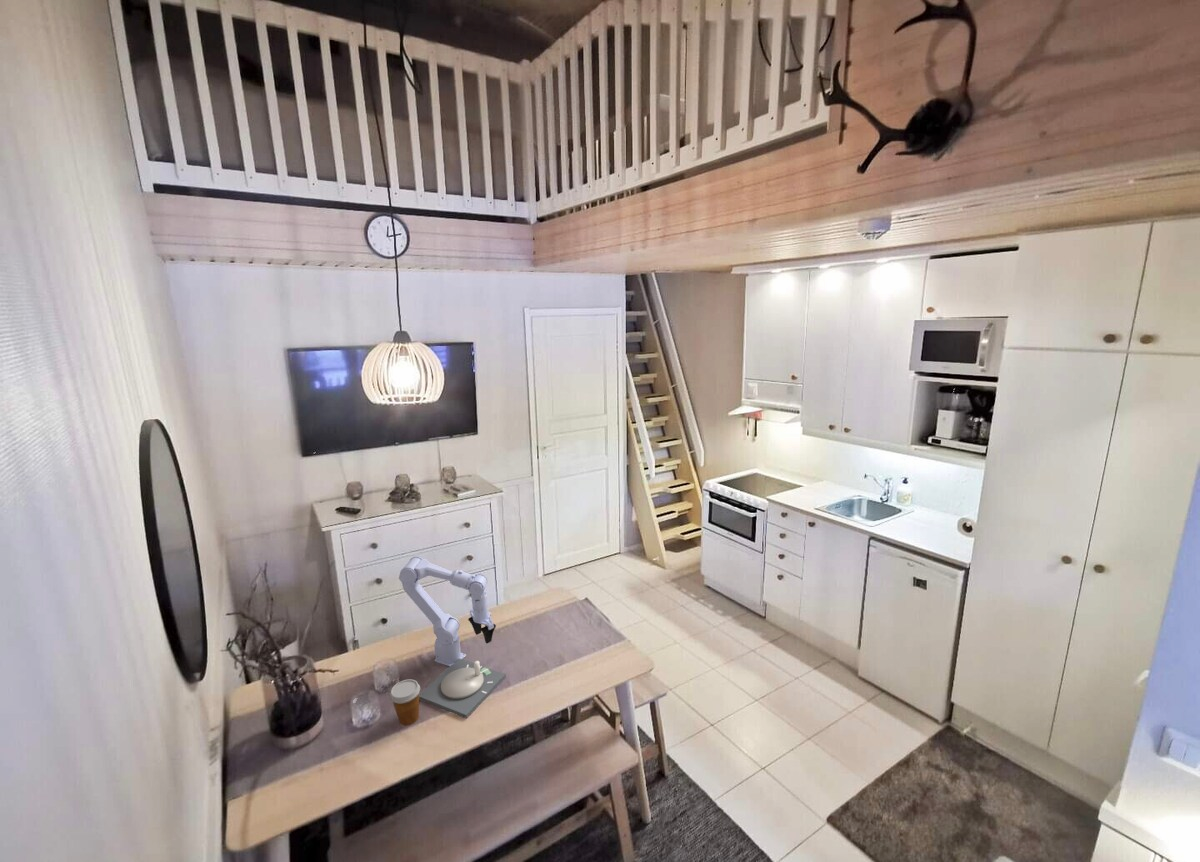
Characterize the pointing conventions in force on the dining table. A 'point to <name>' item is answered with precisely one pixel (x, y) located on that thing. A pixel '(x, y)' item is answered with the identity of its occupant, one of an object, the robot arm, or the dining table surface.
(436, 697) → the tuner board
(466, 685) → the beige oval dome
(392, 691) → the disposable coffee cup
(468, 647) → the dining table surface
